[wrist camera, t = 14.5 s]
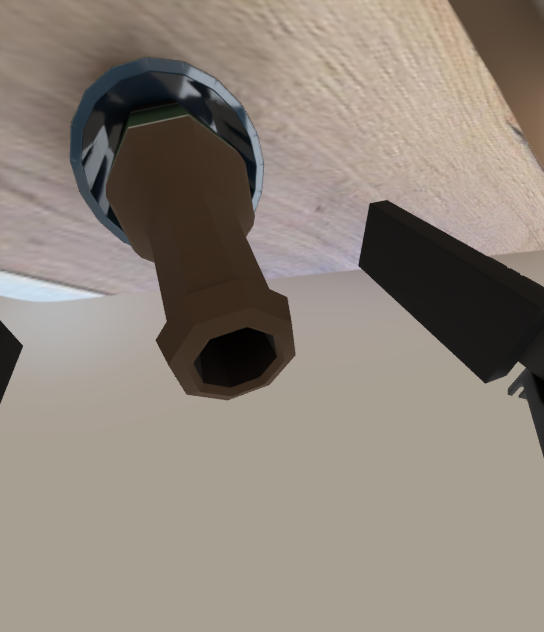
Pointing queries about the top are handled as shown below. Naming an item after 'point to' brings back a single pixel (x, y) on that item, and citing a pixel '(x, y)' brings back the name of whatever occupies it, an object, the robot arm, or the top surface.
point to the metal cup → (144, 88)
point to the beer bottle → (199, 251)
